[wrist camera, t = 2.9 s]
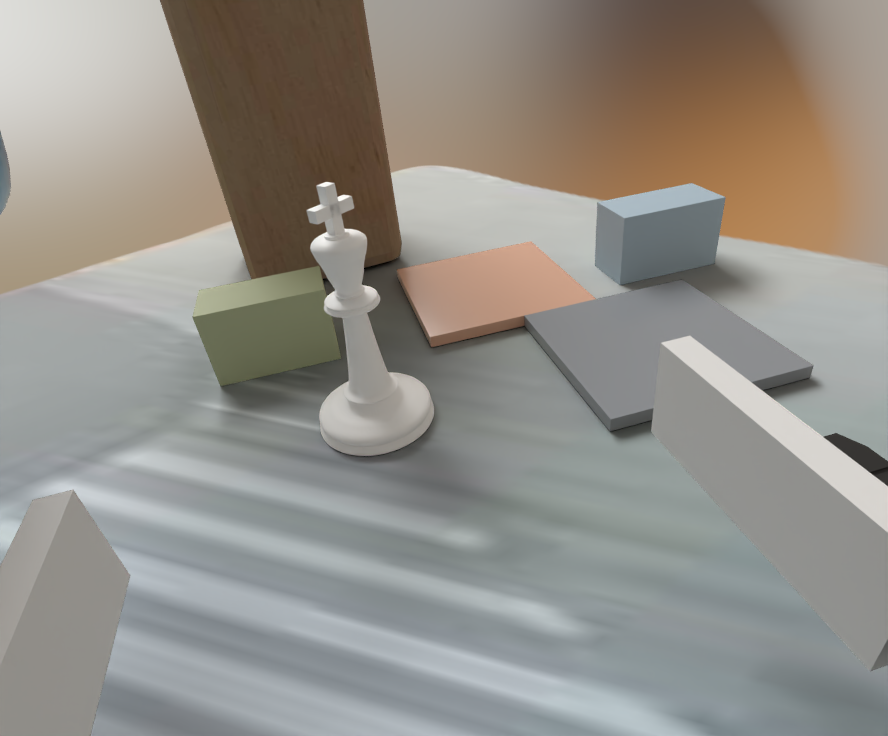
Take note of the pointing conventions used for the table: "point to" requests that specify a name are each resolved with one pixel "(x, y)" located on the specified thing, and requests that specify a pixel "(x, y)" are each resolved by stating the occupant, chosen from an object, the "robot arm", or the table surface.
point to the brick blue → (657, 232)
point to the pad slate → (651, 346)
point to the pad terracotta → (486, 291)
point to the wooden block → (288, 121)
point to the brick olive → (266, 325)
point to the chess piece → (361, 348)
